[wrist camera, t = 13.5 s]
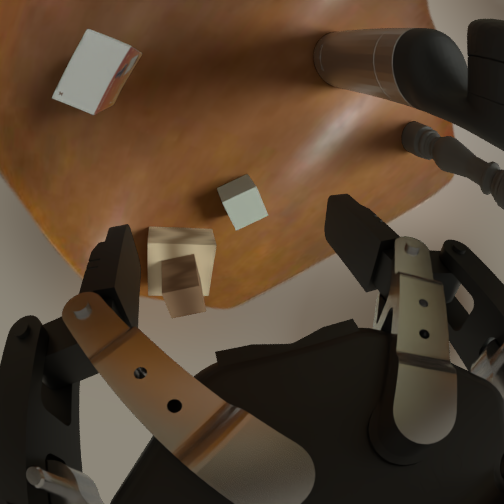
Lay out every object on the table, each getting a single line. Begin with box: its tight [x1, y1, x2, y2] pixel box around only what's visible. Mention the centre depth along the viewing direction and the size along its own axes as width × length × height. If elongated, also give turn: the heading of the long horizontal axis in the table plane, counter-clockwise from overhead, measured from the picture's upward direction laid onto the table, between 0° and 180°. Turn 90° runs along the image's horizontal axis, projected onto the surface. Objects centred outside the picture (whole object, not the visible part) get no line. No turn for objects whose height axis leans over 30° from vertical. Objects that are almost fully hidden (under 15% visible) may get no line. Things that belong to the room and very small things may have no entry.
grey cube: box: [217, 174, 268, 230], centre depth 42 cm, size 5×5×5 cm
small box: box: [52, 29, 142, 115], centre depth 24 cm, size 8×6×10 cm
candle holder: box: [402, 121, 504, 209], centre depth 35 cm, size 6×6×25 cm
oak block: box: [148, 227, 216, 296], centre depth 45 cm, size 10×10×5 cm
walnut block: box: [161, 254, 206, 318], centre depth 41 cm, size 5×5×7 cm
